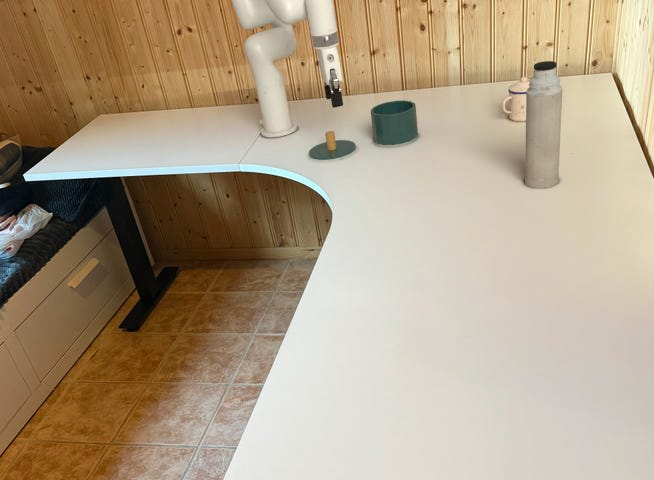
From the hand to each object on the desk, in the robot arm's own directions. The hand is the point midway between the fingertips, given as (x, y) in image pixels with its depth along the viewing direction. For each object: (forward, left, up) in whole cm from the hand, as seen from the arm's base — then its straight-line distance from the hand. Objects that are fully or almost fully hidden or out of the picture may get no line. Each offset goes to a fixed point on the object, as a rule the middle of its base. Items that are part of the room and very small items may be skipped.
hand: (334, 102), depth 198 cm
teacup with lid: (+34, +44, -15) cm, 58 cm away
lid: (-2, -2, -14) cm, 14 cm away
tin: (+9, +15, -15) cm, 23 cm away
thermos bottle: (+66, +7, -15) cm, 68 cm away
